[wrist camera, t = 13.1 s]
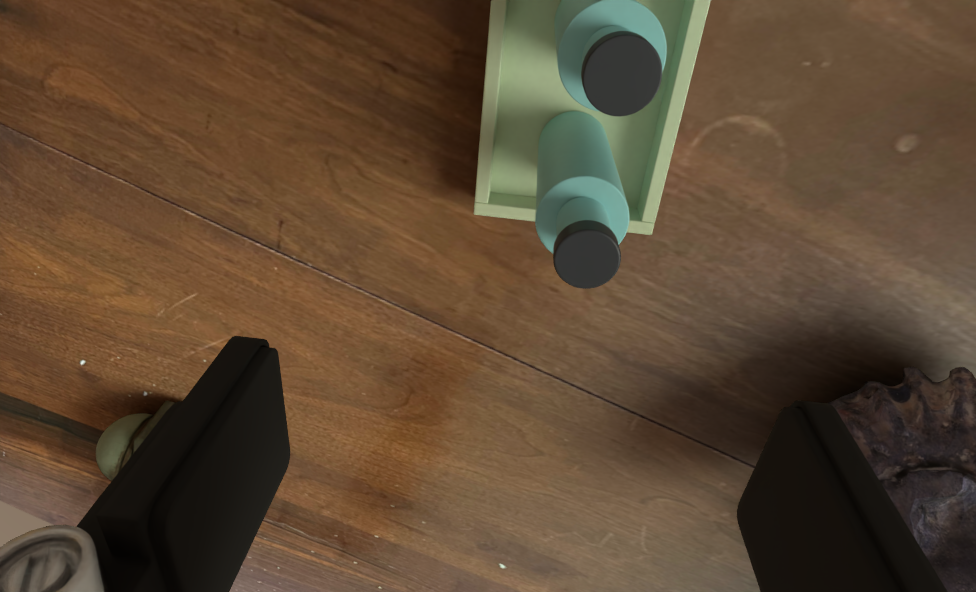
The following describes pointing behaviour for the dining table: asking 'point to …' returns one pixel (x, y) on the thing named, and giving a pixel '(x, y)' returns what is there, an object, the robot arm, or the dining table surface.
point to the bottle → (580, 200)
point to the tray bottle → (609, 54)
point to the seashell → (925, 461)
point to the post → (125, 439)
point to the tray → (574, 109)
